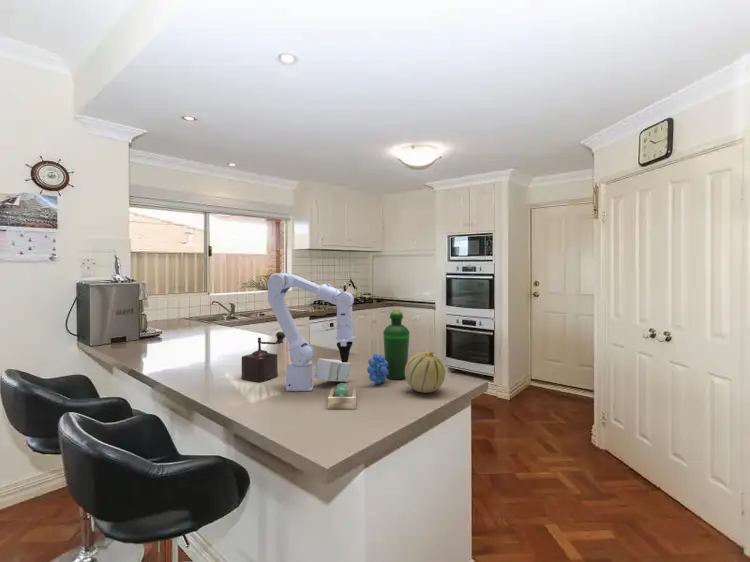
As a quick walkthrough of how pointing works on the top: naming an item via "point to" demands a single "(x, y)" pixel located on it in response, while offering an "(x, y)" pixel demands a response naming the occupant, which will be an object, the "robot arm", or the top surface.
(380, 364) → the grapes
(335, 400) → the beech rest
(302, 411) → the top surface
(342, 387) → the green bottle
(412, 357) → the cantaloupe
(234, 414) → the top surface
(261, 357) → the manual coffee grinder
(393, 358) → the bottle
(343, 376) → the supplement box
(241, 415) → the top surface
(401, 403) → the top surface
